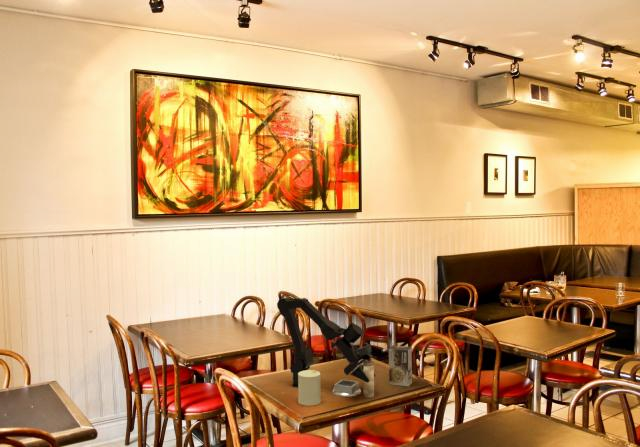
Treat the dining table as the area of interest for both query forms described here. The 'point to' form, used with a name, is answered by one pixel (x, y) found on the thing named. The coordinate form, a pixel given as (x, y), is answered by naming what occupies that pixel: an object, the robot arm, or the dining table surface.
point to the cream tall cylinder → (369, 371)
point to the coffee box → (400, 365)
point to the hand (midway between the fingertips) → (371, 379)
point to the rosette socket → (346, 388)
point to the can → (309, 387)
